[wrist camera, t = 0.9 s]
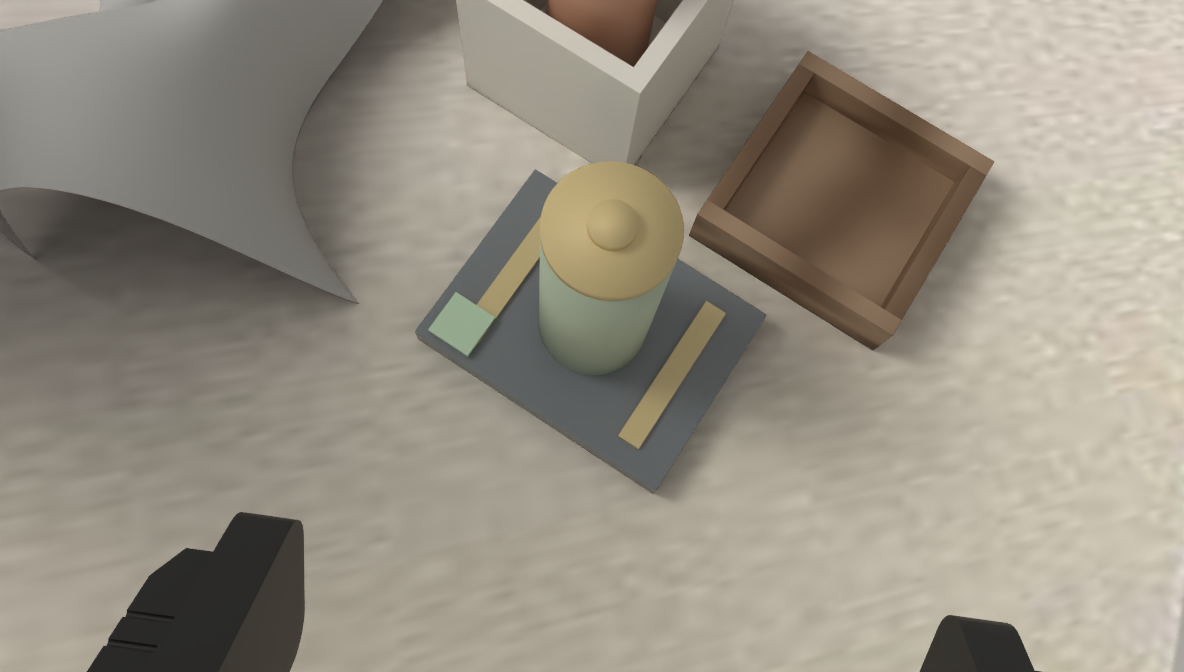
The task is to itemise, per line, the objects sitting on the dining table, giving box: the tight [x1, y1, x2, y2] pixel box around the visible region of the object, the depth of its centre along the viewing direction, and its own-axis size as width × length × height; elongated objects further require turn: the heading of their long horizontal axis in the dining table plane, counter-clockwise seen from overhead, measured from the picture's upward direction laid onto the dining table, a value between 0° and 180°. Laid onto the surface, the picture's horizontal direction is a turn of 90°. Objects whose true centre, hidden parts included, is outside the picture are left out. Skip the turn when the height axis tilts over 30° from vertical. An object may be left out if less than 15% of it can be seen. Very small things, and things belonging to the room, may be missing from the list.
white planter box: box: [456, 0, 733, 165], centre depth 43 cm, size 9×9×8 cm
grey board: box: [415, 169, 766, 493], centre depth 42 cm, size 12×9×2 cm
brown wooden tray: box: [689, 51, 994, 350], centre depth 44 cm, size 10×10×2 cm
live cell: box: [539, 161, 684, 376], centre depth 36 cm, size 5×5×11 cm
